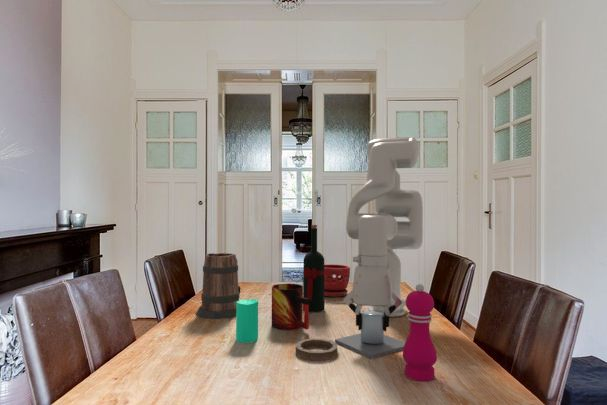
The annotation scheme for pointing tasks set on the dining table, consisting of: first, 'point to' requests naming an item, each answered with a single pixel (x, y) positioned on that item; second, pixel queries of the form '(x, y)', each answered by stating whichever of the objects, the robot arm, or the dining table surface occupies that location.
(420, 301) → the pepper mill
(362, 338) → the jug
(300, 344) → the stand
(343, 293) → the plant pot
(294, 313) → the mug
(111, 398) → the dining table surface
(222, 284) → the tankard
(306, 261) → the wine bottle
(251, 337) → the candle
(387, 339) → the tile
